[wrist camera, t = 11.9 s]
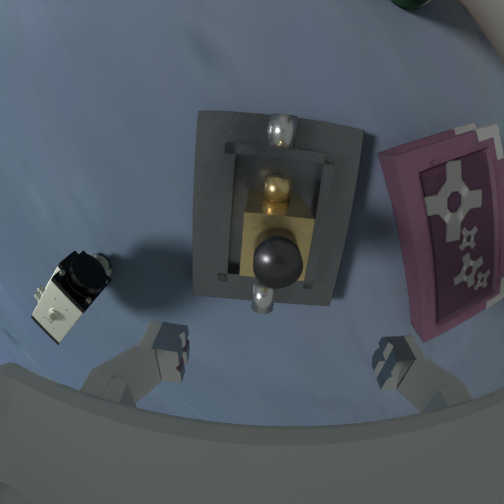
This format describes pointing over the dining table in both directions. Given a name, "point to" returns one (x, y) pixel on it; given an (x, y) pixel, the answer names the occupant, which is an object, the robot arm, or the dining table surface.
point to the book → (449, 223)
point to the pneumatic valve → (70, 293)
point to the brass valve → (276, 234)
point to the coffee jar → (411, 3)
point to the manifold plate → (252, 178)
